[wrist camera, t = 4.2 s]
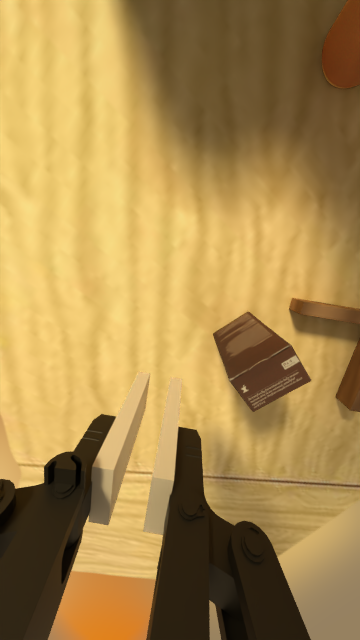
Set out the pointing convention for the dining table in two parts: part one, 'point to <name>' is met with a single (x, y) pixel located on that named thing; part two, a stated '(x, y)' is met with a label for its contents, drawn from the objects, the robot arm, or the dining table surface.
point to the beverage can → (343, 48)
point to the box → (258, 361)
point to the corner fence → (356, 385)
